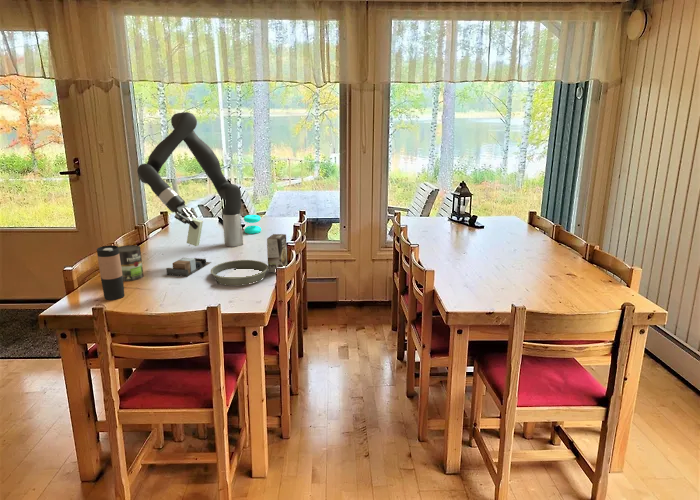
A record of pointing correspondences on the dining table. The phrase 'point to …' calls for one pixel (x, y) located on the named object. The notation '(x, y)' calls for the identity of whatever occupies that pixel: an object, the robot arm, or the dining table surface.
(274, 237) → the coffee box
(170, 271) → the rack
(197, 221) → the pale green block
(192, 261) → the offcut
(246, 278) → the cake pan
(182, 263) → the offcut
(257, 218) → the donuts
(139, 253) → the coffee can
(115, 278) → the travel mug
